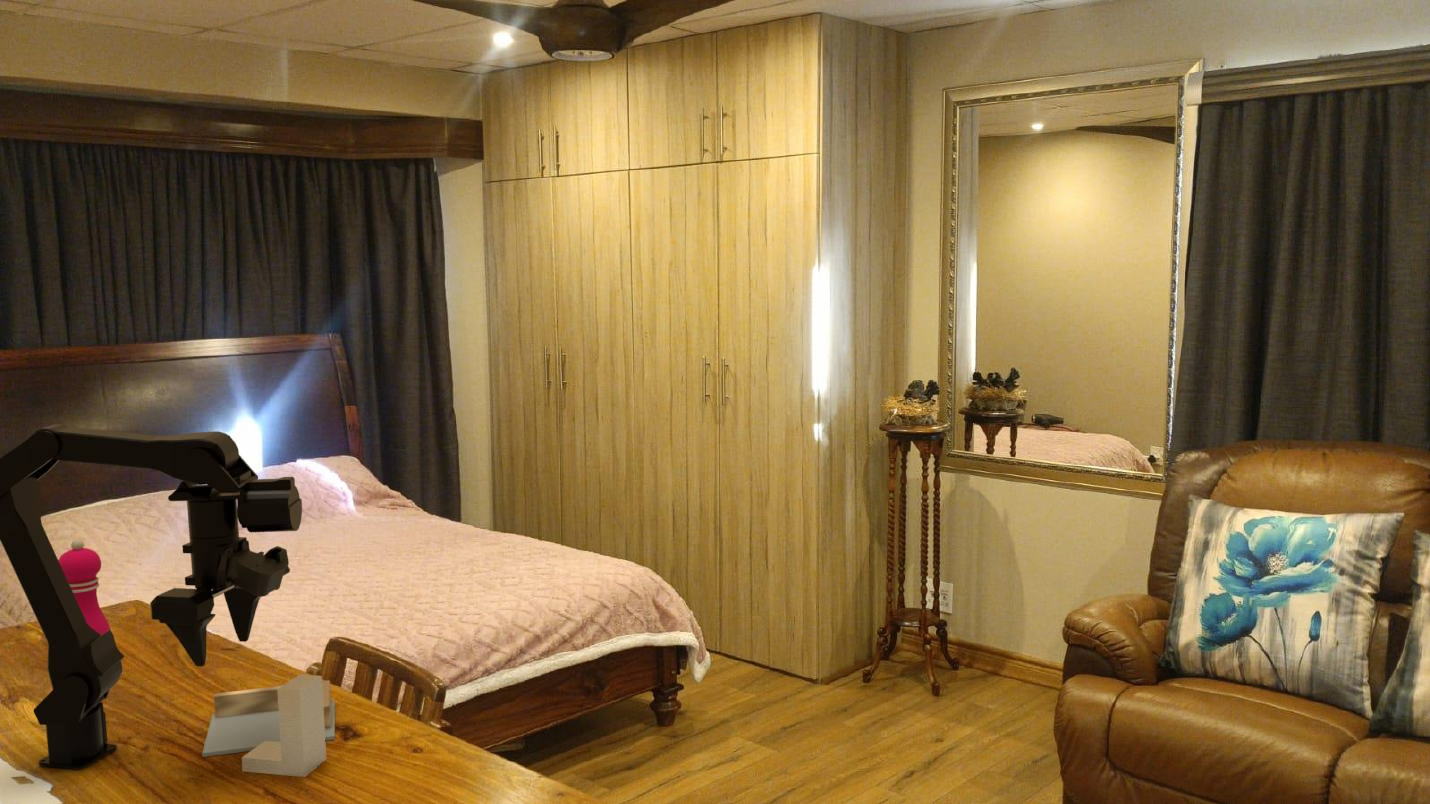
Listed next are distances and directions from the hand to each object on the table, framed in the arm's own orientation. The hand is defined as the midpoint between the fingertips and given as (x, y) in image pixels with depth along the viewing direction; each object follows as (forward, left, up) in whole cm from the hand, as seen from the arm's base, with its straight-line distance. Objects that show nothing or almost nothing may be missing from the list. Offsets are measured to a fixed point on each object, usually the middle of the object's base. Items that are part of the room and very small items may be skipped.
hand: (222, 653), depth 148 cm
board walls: (+9, -1, -13) cm, 16 cm away
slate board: (+7, -1, -13) cm, 15 cm away
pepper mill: (+25, +42, -13) cm, 50 cm away
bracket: (-2, -9, -13) cm, 16 cm away
